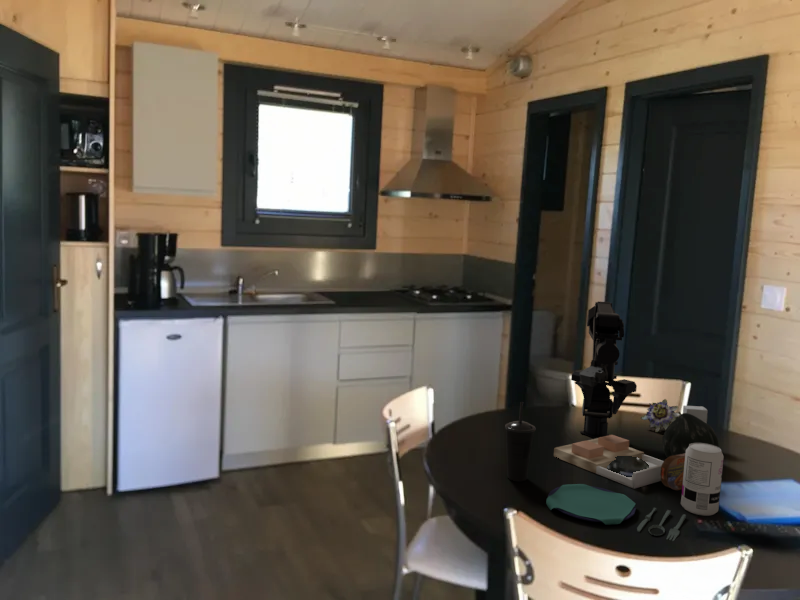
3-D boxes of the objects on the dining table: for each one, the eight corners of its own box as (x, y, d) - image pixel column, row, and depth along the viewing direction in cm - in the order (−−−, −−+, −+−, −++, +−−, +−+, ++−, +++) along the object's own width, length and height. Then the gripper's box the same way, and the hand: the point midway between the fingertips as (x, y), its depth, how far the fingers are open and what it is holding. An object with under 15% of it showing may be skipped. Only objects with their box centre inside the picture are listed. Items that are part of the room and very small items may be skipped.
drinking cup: (534, 475, 186) (539, 400, 183) (529, 485, 179) (534, 407, 176) (505, 470, 188) (509, 396, 186) (499, 480, 181) (503, 403, 179)
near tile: (571, 452, 198) (572, 443, 197) (586, 448, 201) (586, 440, 201) (588, 458, 193) (589, 449, 192) (603, 455, 196) (603, 446, 196)
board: (553, 456, 201) (554, 447, 201) (600, 445, 213) (601, 437, 212) (596, 473, 189) (596, 464, 189) (643, 460, 200) (643, 452, 200)
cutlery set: (564, 485, 180) (565, 476, 180) (690, 519, 164) (691, 509, 164) (533, 512, 164) (534, 502, 163) (670, 552, 147) (671, 541, 147)
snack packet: (666, 492, 178) (669, 459, 177) (656, 488, 181) (659, 455, 180) (707, 484, 185) (711, 452, 184) (697, 479, 187) (700, 448, 186)
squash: (729, 442, 203) (694, 398, 205) (728, 459, 190) (691, 413, 192) (686, 466, 209) (653, 424, 211) (682, 485, 196) (647, 440, 198)
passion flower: (656, 448, 230) (635, 416, 230) (662, 433, 239) (642, 403, 239) (688, 435, 223) (666, 403, 224) (692, 421, 233) (672, 389, 233)
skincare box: (700, 444, 217) (703, 406, 216) (704, 449, 213) (708, 410, 212) (679, 443, 218) (683, 405, 216) (683, 447, 214) (687, 408, 212)
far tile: (597, 446, 204) (598, 437, 204) (611, 442, 207) (612, 434, 207) (614, 452, 199) (615, 443, 199) (628, 449, 202) (629, 440, 202)
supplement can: (674, 502, 172) (679, 441, 170) (707, 502, 172) (713, 442, 171) (690, 516, 164) (696, 453, 162) (725, 516, 164) (731, 453, 162)
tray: (596, 473, 189) (597, 458, 188) (643, 460, 200) (644, 447, 200) (634, 488, 179) (635, 473, 179) (681, 474, 191) (682, 460, 190)
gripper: (560, 353, 207) (557, 406, 209) (615, 366, 192) (611, 422, 194) (585, 350, 214) (581, 401, 216) (639, 362, 199) (635, 416, 201)
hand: (600, 410), depth 206 cm, fingers open, 9 cm apart
